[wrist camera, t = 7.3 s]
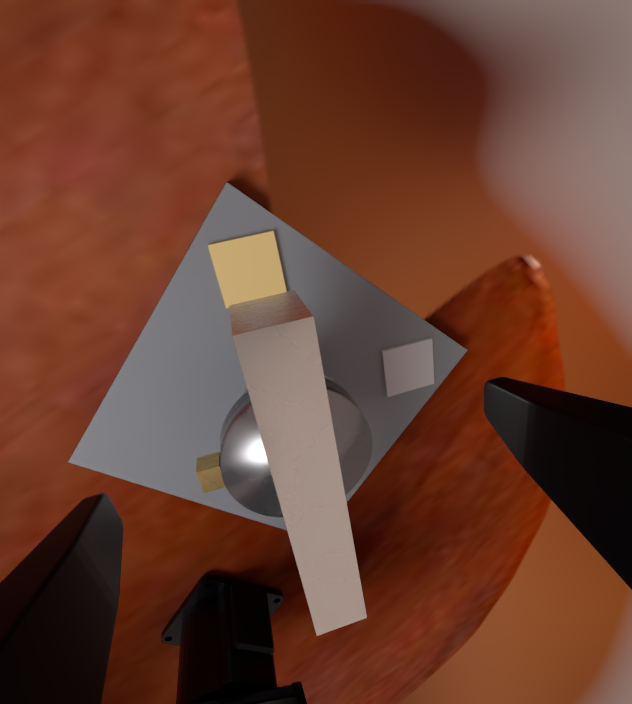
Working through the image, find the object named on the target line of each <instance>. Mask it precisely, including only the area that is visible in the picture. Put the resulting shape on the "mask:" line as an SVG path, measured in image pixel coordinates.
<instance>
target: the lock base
mask: <svg viewBox="0 0 632 704" xmlns="http://www.w3.org/2000/svg"><path fill="white" fill-rule="evenodd" d="M294 290H295V291H296V293H297V294H298V296H299V297H300V298H301V300H302V301H303V302H304V304H305V305H306V307H307V308H308V309H309V311H310V312H311V313H312V315H313V316H314V322H315V327H316V333H317V339H318V344H319V350H320V356H321V361H322V367H323V372H324V377H325V378H328V379H330V380H332V381H334V382H336V383H337V384H339V385H340V386H342V387H343V388H344V389H345V390H346V391H347V392H348V393H349V394H350V395H351V396H352V398H353V399H354V401H355V403H356V404H357V406H358V407H359V409H360V410H361V412H362V414H363V415H364V417H365V419H366V420H367V422H368V424H369V427H370V429H371V434H372V443H373V446H372V454H371V458H370V462H369V464H368V467H367V469H366V471H365V473H364V474H363V476H362V478H361V479H360V480H359V482H358V483H357V484H356V485H355V487H354V488H353V489H352V490H351V491H350V492H349V493H347V494H346V495H345V497H346V502H348V500H349V499H350V498H351V497H352V495H353V494H354V493H355V492H356V490H357V489H358V488H359V487H360V485H361V484H362V483H363V482H364V480H365V479H366V478H367V476H368V475H369V474H370V473H371V471H372V470H373V469H374V468H375V466H376V465H377V464H378V463H379V461H380V460H381V459H382V458H383V456H384V455H385V454H386V453H387V451H388V450H389V449H390V447H391V446H392V445H393V444H394V442H395V441H396V440H397V439H398V437H399V436H400V435H401V434H402V432H403V431H404V430H405V429H406V427H407V426H408V425H409V423H410V422H411V421H412V420H413V418H414V417H415V416H416V415H417V413H418V412H419V411H420V410H421V408H422V407H423V406H424V405H425V403H426V402H427V401H428V400H429V398H430V397H431V396H432V394H433V393H434V392H435V391H436V389H437V388H438V387H439V386H440V384H441V383H442V382H443V381H444V379H445V378H446V377H447V376H448V374H449V373H450V372H451V370H452V369H453V368H454V367H455V365H456V364H457V363H458V362H459V360H460V359H461V358H462V357H463V355H464V354H465V353H466V352H467V349H465V348H464V347H462V346H461V345H459V344H458V343H457V342H455V341H454V340H452V339H451V338H449V337H448V336H447V335H445V334H444V333H442V332H441V331H439V330H438V329H436V328H435V327H434V326H432V325H431V324H429V323H428V322H426V321H425V320H424V319H422V318H421V317H419V316H418V315H416V314H415V313H414V312H412V311H411V310H409V309H408V308H406V307H405V306H403V305H402V304H401V303H399V302H397V301H396V300H395V299H393V298H392V297H391V296H389V295H388V294H386V293H385V292H383V291H382V290H381V289H379V288H378V287H376V286H375V285H373V284H372V283H371V282H369V281H368V280H366V279H365V278H363V277H362V276H360V275H359V274H357V273H356V272H355V271H353V270H352V269H350V268H349V267H347V266H346V265H345V264H343V263H342V262H340V261H339V260H338V259H336V258H335V257H333V256H332V255H330V254H329V253H327V252H326V251H324V250H323V249H322V248H320V247H319V246H317V245H316V244H315V243H313V242H312V241H310V240H309V239H307V238H306V237H305V236H303V235H302V234H300V233H299V232H297V231H296V230H294V229H293V228H292V227H290V226H289V225H287V224H286V223H285V222H283V221H281V220H280V219H279V218H277V217H276V216H274V215H273V214H272V213H270V212H269V211H267V210H266V209H264V208H263V207H262V206H260V205H259V204H257V203H256V202H254V201H253V200H252V199H250V198H249V197H247V196H246V195H244V194H243V193H241V192H240V191H239V190H237V189H236V188H234V187H233V186H231V185H230V184H229V183H227V182H226V184H225V185H224V187H223V189H222V191H221V192H220V194H219V196H218V198H217V199H216V201H215V203H214V205H213V207H212V208H211V210H210V212H209V214H208V215H207V217H206V219H205V221H204V222H203V224H202V226H201V228H200V230H199V231H198V233H197V235H196V237H195V238H194V240H193V242H192V244H191V245H190V247H189V249H188V251H187V252H186V254H185V256H184V258H183V260H182V261H181V263H180V265H179V267H178V268H177V270H176V272H175V274H174V275H173V277H172V279H171V281H170V283H169V284H168V286H167V288H166V290H165V291H164V293H163V295H162V297H161V298H160V300H159V302H158V304H157V305H156V307H155V309H154V311H153V313H152V314H151V316H150V318H149V320H148V321H147V323H146V325H145V327H144V328H143V330H142V332H141V334H140V336H139V337H138V339H137V341H136V343H135V344H134V346H133V348H132V350H131V351H130V353H129V355H128V357H127V358H126V360H125V362H124V364H123V366H122V367H121V369H120V371H119V373H118V374H117V376H116V378H115V380H114V381H113V383H112V385H111V387H110V389H109V390H108V392H107V394H106V396H105V397H104V399H103V401H102V403H101V404H100V406H99V408H98V410H97V411H96V413H95V415H94V417H93V419H92V420H91V422H90V424H89V426H88V427H87V429H86V431H85V433H84V434H83V436H82V438H81V440H80V442H79V443H78V445H77V447H76V449H75V450H74V452H73V454H72V456H71V458H70V460H69V463H73V464H76V465H79V466H82V467H85V468H89V469H92V470H95V471H98V472H101V473H105V474H108V475H111V476H114V477H117V478H121V479H124V480H127V481H130V482H133V483H137V484H140V485H143V486H146V487H149V488H153V489H156V490H159V491H162V492H165V493H169V494H172V495H175V496H178V497H181V498H185V499H188V500H191V501H194V502H197V503H201V504H204V505H207V506H210V507H213V508H217V509H220V510H223V511H226V512H229V513H233V514H236V515H239V516H242V517H245V518H249V519H252V520H255V521H258V522H262V523H265V524H268V525H271V526H274V527H278V528H281V529H284V530H287V528H286V524H285V521H284V518H280V517H270V516H265V515H261V514H258V513H255V512H253V511H251V510H249V509H247V508H245V507H244V506H242V505H241V504H240V503H238V502H237V501H236V500H235V499H234V498H233V497H232V496H231V494H230V493H229V491H228V490H227V488H226V487H224V488H220V489H217V490H214V491H210V492H207V493H204V492H203V489H202V487H201V484H200V482H199V479H198V477H197V474H196V463H197V458H198V457H202V456H205V455H209V454H212V453H216V452H219V453H220V434H221V430H222V425H223V423H224V420H225V418H226V416H227V414H228V413H229V411H230V409H231V408H232V407H233V405H234V404H235V403H236V402H237V401H238V400H239V399H240V398H241V397H242V396H243V395H244V394H245V393H246V392H248V389H247V386H246V382H245V378H244V375H243V371H242V368H241V364H240V361H239V357H238V354H237V350H236V346H235V343H234V339H233V336H232V327H231V319H230V311H229V305H233V304H237V303H241V302H246V301H250V300H254V299H259V298H263V297H268V296H272V295H276V294H281V293H285V292H289V291H294Z"/></svg>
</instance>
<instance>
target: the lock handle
mask: <svg viewBox="0 0 632 704" xmlns="http://www.w3.org/2000/svg"><path fill="white" fill-rule="evenodd" d="M229 311H230V319H231V327H232V336H233V339H234V343H235V346H236V350H237V354H238V357H239V361H240V364H241V368H242V371H243V375H244V378H245V382H246V386H247V389H248V392H246V393H245V394H244V395H243V396H242V397H241V398H240V399H239V400H238V401H237V402H236V403H235V404H234V405H233V407H232V408H231V409H230V411H229V413H228V414H227V416H226V418H225V420H224V423H223V425H222V430H221V434H220V453H219V452H216V453H212V454H209V455H205V456H202V457H198V458H197V463H196V474H197V477H198V479H199V482H200V484H201V487H202V489H203V492H204V493H207V492H210V491H214V490H217V489H220V488H224V487H226V488H227V490H228V491H229V493H230V494H231V496H232V497H233V498H234V499H235V500H236V501H237V502H238V503H240V504H241V505H242V506H244V507H245V508H247V509H249V510H251V511H253V512H255V513H258V514H261V515H265V516H270V517H280V518H284V521H285V524H286V528H287V531H288V535H289V538H290V542H291V545H292V549H293V552H294V556H295V560H296V563H297V567H298V570H299V574H300V577H301V581H302V584H303V588H304V592H305V595H306V599H307V602H308V606H309V609H310V613H311V616H312V620H313V624H314V627H315V631H316V634H317V636H318V635H321V634H324V633H326V632H329V631H332V630H335V629H337V628H340V627H343V626H346V625H348V624H351V623H354V622H357V621H359V620H362V619H365V618H367V615H366V610H365V604H364V598H363V593H362V587H361V581H360V576H359V570H358V564H357V559H356V553H355V547H354V542H353V536H352V531H351V525H350V519H349V514H348V508H347V502H346V497H345V495H346V494H347V493H349V492H350V491H351V490H352V489H353V488H354V487H355V485H356V484H357V483H358V482H359V480H360V479H361V478H362V476H363V474H364V473H365V471H366V469H367V467H368V464H369V462H370V458H371V454H372V446H373V443H372V434H371V429H370V427H369V424H368V422H367V420H366V419H365V417H364V415H363V414H362V412H361V410H360V409H359V407H358V406H357V404H356V403H355V401H354V399H353V398H352V396H351V395H350V394H349V393H348V392H347V391H346V390H345V389H344V388H343V387H342V386H340V385H339V384H337V383H336V382H334V381H332V380H330V379H328V378H325V377H324V372H323V367H322V361H321V356H320V350H319V344H318V339H317V333H316V327H315V322H314V316H313V315H312V313H311V312H310V311H309V309H308V308H307V307H306V305H305V304H304V302H303V301H302V300H301V298H300V297H299V296H298V294H297V293H296V291H295V290H294V291H289V292H285V293H281V294H276V295H272V296H268V297H263V298H259V299H254V300H250V301H246V302H241V303H237V304H233V305H229Z"/></svg>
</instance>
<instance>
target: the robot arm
mask: <svg viewBox="0 0 632 704" xmlns="http://www.w3.org/2000/svg"><path fill="white" fill-rule="evenodd" d="M484 412H485V415H486V417H487V419H488V420H489V422H490V423H491V424H492V426H493V427H494V429H495V430H496V431H497V433H498V434H499V435H500V437H501V438H502V440H503V441H504V442H505V444H506V445H507V447H508V448H509V449H510V451H511V452H512V453H513V455H514V456H515V458H516V459H517V460H518V462H519V463H520V464H521V465H522V467H523V468H524V469H525V470H526V471H527V473H528V474H529V475H530V476H531V477H532V478H533V480H534V481H535V482H536V483H537V484H538V485H539V486H540V487H541V488H542V490H543V491H544V492H545V493H546V494H547V495H548V496H549V497H550V499H551V500H552V501H553V502H554V503H555V504H556V505H557V506H558V508H559V509H560V510H561V511H562V512H563V513H564V514H565V515H566V517H568V519H569V520H570V521H571V522H572V523H573V524H574V526H575V527H576V528H577V529H578V530H579V531H580V532H581V533H582V534H583V536H584V537H585V538H586V539H587V540H588V541H589V542H590V543H591V545H592V546H593V547H594V548H595V549H596V550H597V551H598V552H599V554H600V555H601V556H602V557H603V558H604V559H605V560H606V561H607V563H608V564H609V565H610V566H611V567H612V568H613V569H614V570H615V571H616V573H617V574H618V575H619V576H620V577H621V578H622V579H623V580H624V581H625V583H626V584H627V585H628V586H629V587H630V588H631V589H632V407H628V406H623V405H619V404H615V403H611V402H607V401H602V400H598V399H594V398H589V397H585V396H581V395H577V394H573V393H569V392H565V391H561V390H556V389H552V388H548V387H544V386H540V385H535V384H531V383H527V382H523V381H519V380H514V379H510V378H506V377H498V378H495V379H491V380H488V381H487V382H486V383H485V386H484ZM122 543H123V522H122V519H121V517H120V515H119V514H118V512H117V510H116V508H115V506H114V505H113V503H112V501H111V499H110V498H109V496H108V495H107V494H105V493H100V494H97V495H93V496H90V497H87V498H85V499H83V500H82V501H81V502H80V503H79V504H78V505H77V506H76V507H75V508H74V509H73V510H72V511H71V512H70V513H69V514H68V515H67V516H66V517H65V518H64V519H63V520H62V521H61V522H60V523H59V524H58V525H57V526H56V527H55V528H54V529H53V530H52V531H51V532H50V533H49V534H48V535H47V536H46V537H45V538H44V539H43V540H42V541H41V542H40V543H39V544H38V545H37V546H36V547H35V548H34V549H33V550H32V551H31V552H30V553H29V554H28V555H27V556H26V557H25V558H24V559H23V560H22V561H21V562H20V564H19V565H18V566H17V567H16V568H15V569H14V570H13V571H12V572H11V573H10V574H9V575H8V576H7V577H6V578H5V579H4V580H3V581H2V582H1V583H0V704H101V700H102V694H103V688H104V683H105V677H106V671H107V665H108V660H109V654H110V648H111V643H112V637H113V631H114V625H115V620H116V614H117V607H118V601H119V590H120V575H121V559H122ZM283 600H284V598H283V593H282V592H281V591H278V590H274V589H270V588H265V587H261V586H257V585H252V584H248V583H244V582H240V581H235V580H231V579H227V578H223V577H218V576H214V575H205V576H203V577H202V578H201V579H200V581H199V582H198V583H197V585H196V586H195V588H194V589H193V590H192V592H191V593H190V594H189V596H188V597H187V599H186V600H185V601H184V603H183V604H182V605H181V607H180V608H179V610H178V611H177V612H176V614H175V615H174V617H173V618H172V619H171V621H170V622H169V623H168V625H167V626H166V628H165V629H164V630H163V632H162V635H161V642H163V643H165V644H172V645H179V646H180V655H179V669H178V683H177V697H176V704H307V702H306V699H305V695H304V691H303V688H302V684H301V682H294V683H292V685H288V686H283V687H277V682H276V674H275V666H274V658H273V653H274V643H273V635H272V627H271V619H270V617H271V616H272V615H273V613H274V612H275V611H276V610H277V608H278V607H279V606H280V605H281V603H282V602H283Z"/></svg>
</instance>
